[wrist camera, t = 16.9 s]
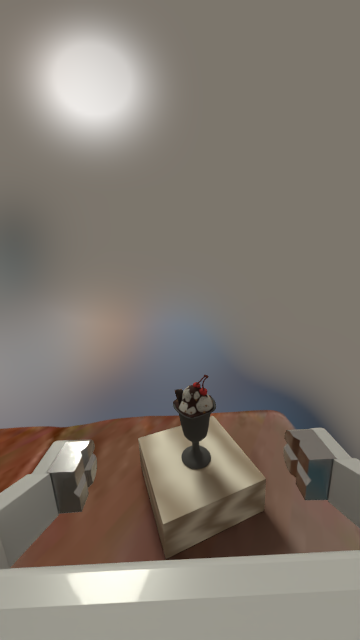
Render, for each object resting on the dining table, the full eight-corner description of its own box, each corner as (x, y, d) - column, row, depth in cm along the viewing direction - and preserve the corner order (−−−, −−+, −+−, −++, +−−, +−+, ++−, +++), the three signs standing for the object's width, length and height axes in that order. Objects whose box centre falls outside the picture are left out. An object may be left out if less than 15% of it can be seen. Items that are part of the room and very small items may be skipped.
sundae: (224, 462, 37) (224, 377, 34) (189, 481, 34) (185, 390, 31) (201, 437, 43) (200, 362, 40) (169, 451, 40) (164, 372, 37)
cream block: (165, 559, 30) (163, 524, 29) (140, 464, 45) (138, 438, 43) (264, 510, 36) (265, 478, 34) (213, 440, 50) (213, 416, 49)
